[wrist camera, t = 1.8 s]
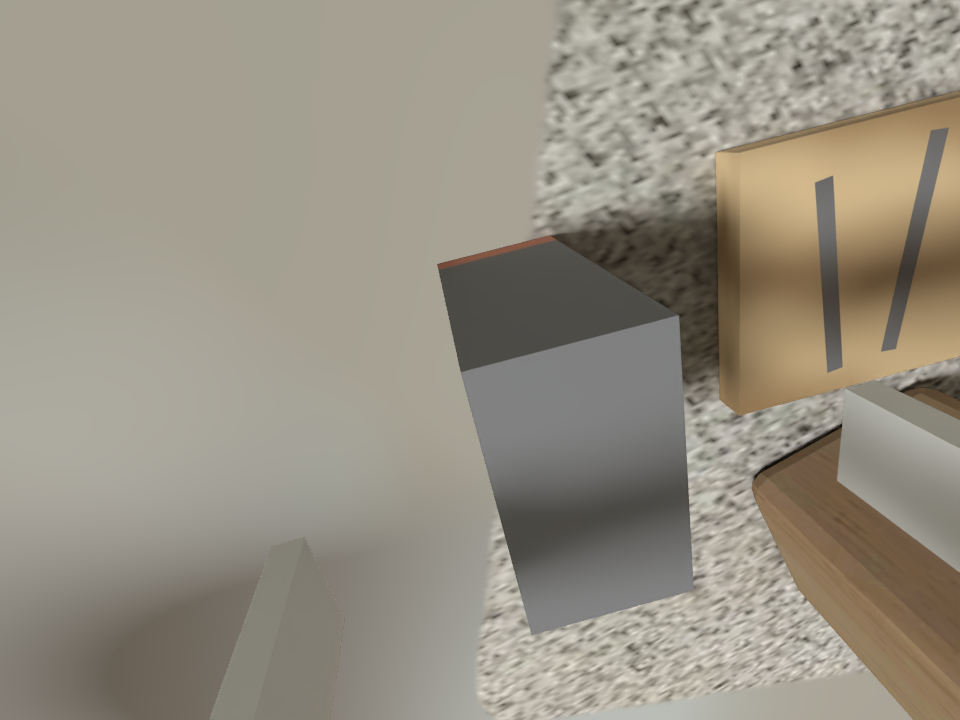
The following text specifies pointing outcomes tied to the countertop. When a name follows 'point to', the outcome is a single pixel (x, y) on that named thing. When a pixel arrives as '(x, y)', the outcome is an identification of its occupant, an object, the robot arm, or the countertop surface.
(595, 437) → the block
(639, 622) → the countertop surface
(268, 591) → the robot arm
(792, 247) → the board
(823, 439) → the wooden block
